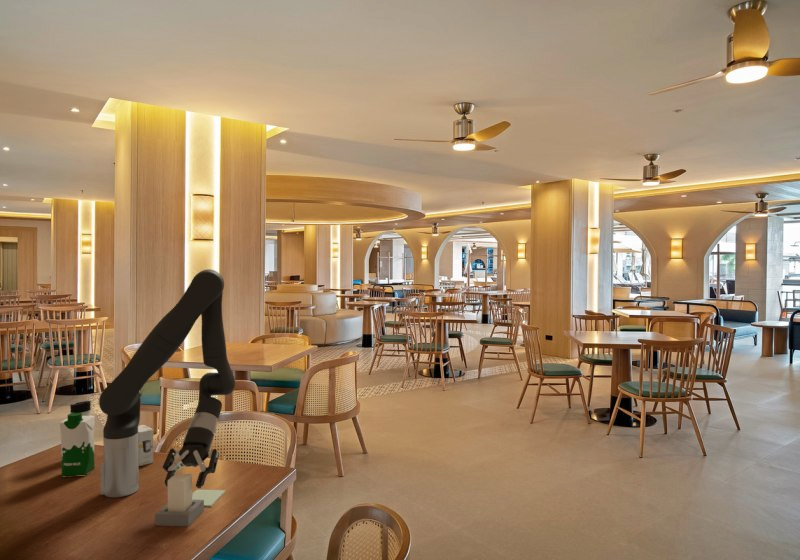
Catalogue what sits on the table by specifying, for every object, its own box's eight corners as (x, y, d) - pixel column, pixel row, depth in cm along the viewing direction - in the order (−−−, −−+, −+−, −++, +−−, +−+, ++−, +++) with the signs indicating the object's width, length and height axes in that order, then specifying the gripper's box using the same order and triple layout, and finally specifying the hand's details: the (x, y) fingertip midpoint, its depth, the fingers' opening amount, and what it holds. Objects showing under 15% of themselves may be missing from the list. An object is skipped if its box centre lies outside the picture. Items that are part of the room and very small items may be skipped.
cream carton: (167, 521, 139) (167, 480, 138) (176, 513, 143) (176, 473, 143) (184, 522, 138) (183, 480, 138) (192, 514, 143) (191, 474, 143)
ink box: (128, 461, 183) (127, 427, 183) (143, 457, 187) (142, 424, 187) (139, 467, 177) (138, 432, 177) (154, 462, 181) (153, 428, 181)
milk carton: (57, 479, 167) (56, 416, 167) (71, 468, 176) (70, 409, 176) (86, 477, 168) (85, 415, 168) (98, 467, 177) (98, 408, 177)
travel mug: (82, 460, 183) (81, 404, 183) (66, 459, 185) (65, 403, 184) (96, 454, 189) (95, 399, 189) (80, 453, 191) (80, 398, 190)
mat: (180, 505, 148) (180, 504, 148) (196, 490, 158) (196, 489, 158) (211, 506, 147) (211, 505, 147) (225, 491, 157) (225, 490, 157)
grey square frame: (155, 525, 137) (155, 513, 137) (172, 509, 146) (172, 498, 146) (188, 526, 136) (188, 515, 136) (203, 510, 145) (203, 499, 145)
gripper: (173, 425, 151) (152, 480, 140) (221, 425, 150) (203, 481, 139) (182, 437, 156) (162, 491, 145) (228, 438, 155) (212, 493, 144)
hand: (182, 486), depth 142 cm, fingers open, 8 cm apart
